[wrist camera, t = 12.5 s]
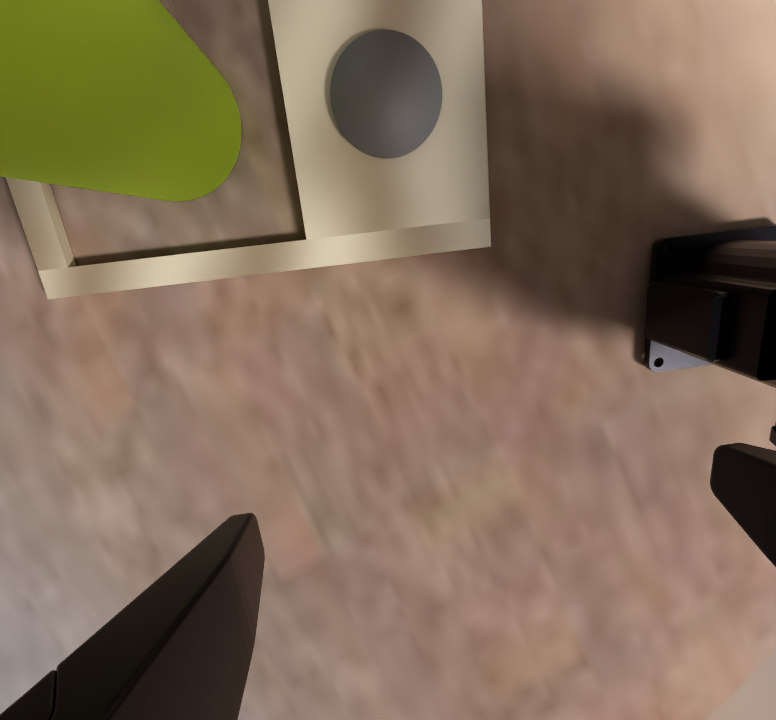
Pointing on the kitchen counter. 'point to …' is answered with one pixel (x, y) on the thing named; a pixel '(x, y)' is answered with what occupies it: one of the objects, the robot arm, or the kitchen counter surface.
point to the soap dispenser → (112, 100)
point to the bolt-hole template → (339, 149)
